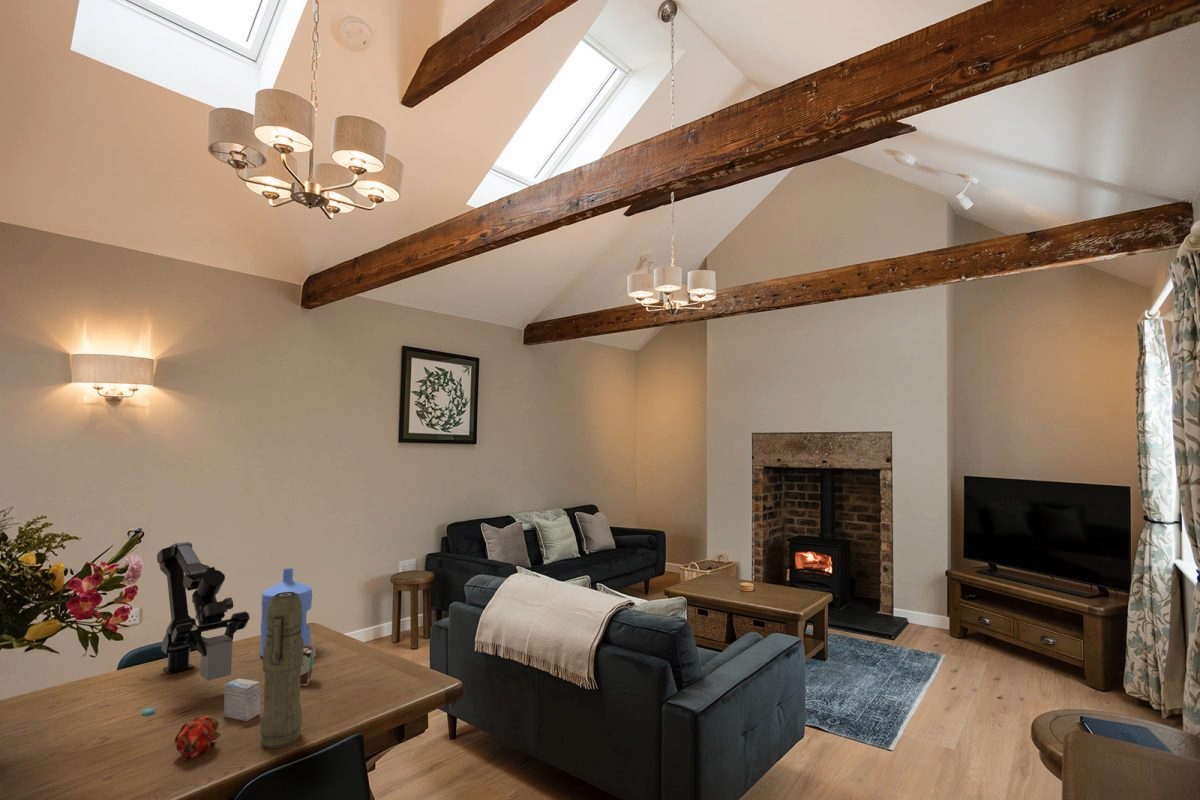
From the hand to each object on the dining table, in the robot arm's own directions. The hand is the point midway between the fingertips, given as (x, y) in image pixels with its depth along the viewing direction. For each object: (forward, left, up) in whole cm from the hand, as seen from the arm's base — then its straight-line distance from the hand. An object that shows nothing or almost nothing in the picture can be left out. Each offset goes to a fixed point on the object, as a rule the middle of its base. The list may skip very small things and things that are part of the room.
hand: (218, 652), depth 173 cm
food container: (+7, +20, -13) cm, 25 cm away
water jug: (-21, +30, -13) cm, 39 cm away
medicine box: (+18, -1, -13) cm, 22 cm away
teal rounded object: (-4, -15, -13) cm, 20 cm away
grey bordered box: (-1, 0, -7) cm, 7 cm away
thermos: (+39, -1, -13) cm, 41 cm away
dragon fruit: (+30, -16, -13) cm, 36 cm away
